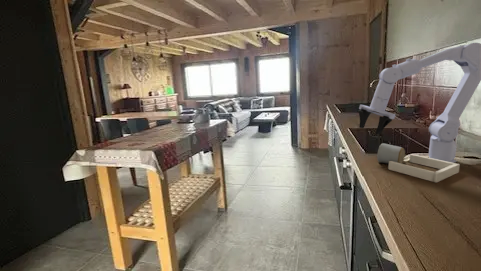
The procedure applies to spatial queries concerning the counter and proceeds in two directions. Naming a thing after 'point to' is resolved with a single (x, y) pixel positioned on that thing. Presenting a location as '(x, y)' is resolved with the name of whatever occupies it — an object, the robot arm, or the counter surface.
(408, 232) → the counter surface
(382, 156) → the ceramic mug
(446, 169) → the frame
